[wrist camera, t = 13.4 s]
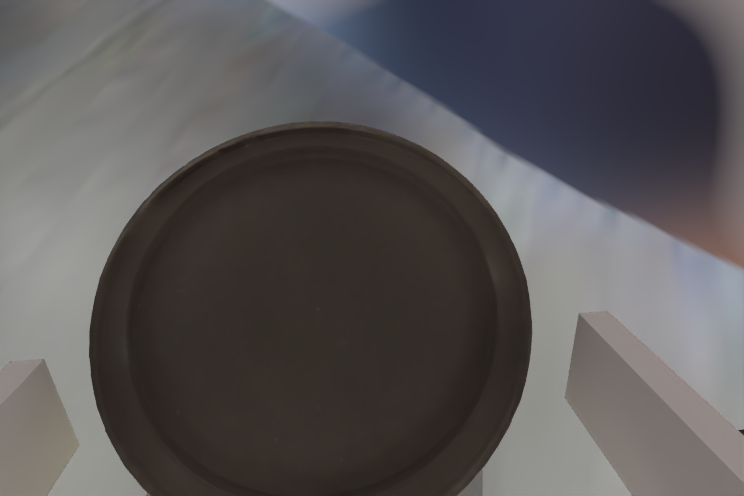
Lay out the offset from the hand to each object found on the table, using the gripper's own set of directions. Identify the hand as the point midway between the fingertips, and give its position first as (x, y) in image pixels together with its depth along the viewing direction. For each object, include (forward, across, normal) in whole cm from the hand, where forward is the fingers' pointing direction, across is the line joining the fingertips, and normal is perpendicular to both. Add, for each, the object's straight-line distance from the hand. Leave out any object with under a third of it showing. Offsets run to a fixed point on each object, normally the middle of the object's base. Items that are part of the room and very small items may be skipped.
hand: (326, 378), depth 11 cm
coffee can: (+10, 0, -8) cm, 13 cm away
